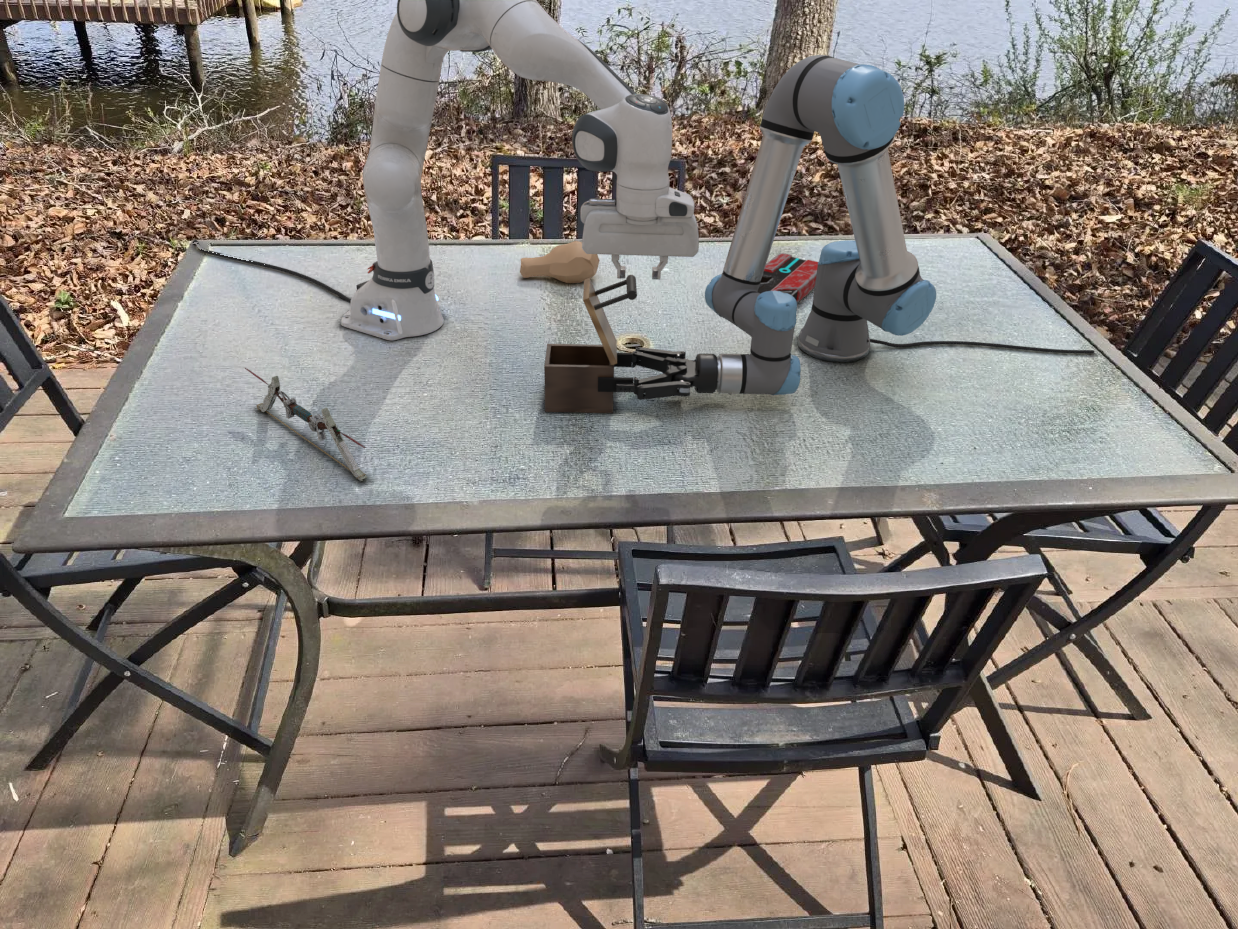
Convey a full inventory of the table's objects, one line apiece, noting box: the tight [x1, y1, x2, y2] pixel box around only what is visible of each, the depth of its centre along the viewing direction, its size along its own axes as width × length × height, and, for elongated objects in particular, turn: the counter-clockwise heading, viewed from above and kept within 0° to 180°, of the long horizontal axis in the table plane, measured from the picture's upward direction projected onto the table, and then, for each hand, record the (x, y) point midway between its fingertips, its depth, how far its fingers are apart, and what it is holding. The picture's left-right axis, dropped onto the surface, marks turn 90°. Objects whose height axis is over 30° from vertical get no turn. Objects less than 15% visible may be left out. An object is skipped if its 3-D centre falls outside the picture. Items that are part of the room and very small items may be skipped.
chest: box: [543, 343, 615, 414], centre depth 166 cm, size 13×9×10 cm
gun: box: [757, 252, 819, 304], centre depth 215 cm, size 4×31×19 cm
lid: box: [582, 274, 638, 365], centre depth 159 cm, size 14×9×9 cm
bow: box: [244, 367, 368, 482], centre depth 151 cm, size 39×2×10 cm, turn 47°
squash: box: [519, 240, 600, 284], centre depth 218 cm, size 11×20×9 cm, turn 90°
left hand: (638, 277), depth 155 cm, fingers open, 5 cm apart
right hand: (598, 371), depth 165 cm, fingers closed on chest, 9 cm apart
